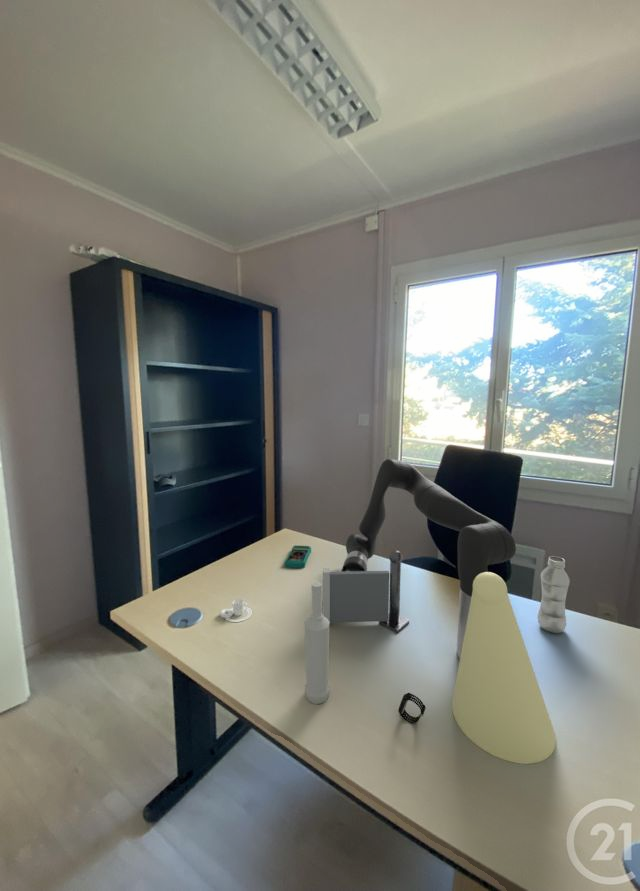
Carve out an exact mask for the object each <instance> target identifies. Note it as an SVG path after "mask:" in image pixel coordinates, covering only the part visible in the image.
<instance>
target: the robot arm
mask: <svg viewBox="0 0 640 891" xmlns="http://www.w3.org/2000/svg"><path fill="white" fill-rule="evenodd" d="M389 488H396V489H400V490H404V491H406V492H408V493H409V494H411V495H412V496H413V502H414V505H415V507H416V508H417V509H418V510H419V511H420V513H422V514H423V515H424V516H425V517H426V518H427V519H428V520H430V521H431V522H434V523H435V524H437V525H440V526H442V527H445V528H449V529H451V530H454V531H457V532H459V533H458V537H457V574H458V578H459V581H460V582H459V598H458V600H459V601H458V617H457V634H456V635H457V643H456V654H457V657H458V660H460V657H461V652H462V646H463V641H464V635H465V630H466V624H467V619H468V614H469V608H470V603H471V597H472V592H473V581H474V579H475V578H476V576H478V575H479V574H481V573H484V572H488V566H490V565H495V564H497V565H498V564H502V563H505V562H507V561H509V560H511V559H512V558H513V557H514V556H515V554H516V551H517V546H516V543H515V542H516V541H515V540H514V537H513V535H512V534H511V533H510V531H509V530H508V529H507V528H506V527H504V525H503V524H501V523H499V522H498V521H496V520H493V519H491V518H489V517H488V516H486V515H484V514H482V513H480V512H478V511H476V510H475V509H473V508H472V507H470V506H468V505H467V504H466V503H464V502H463V501H462V500H460V499H458V498H457V497H455V496H454V495H452V494H451V493H450V492H448V491H447V490H446V489H444V488H443V487H442V486H440V485H438V484H437V483H436V482H434V481H432V480H430V479H428V478H427V477H425V475H423V473H421V472H420V471H419V470H418V469H417V468H416V467H415V466H414V465H412V464H411V463H410V462H407V461H403V460H398V459H393V458H387V459H385V460H383V461H382V463H381V465H380V467H379V469H378V472H377V475H376V479H375V482H374V485H373V489H372V492H371V495H370V501H369V504H368V506H367V509H366V510H365V512H364V513H365V514H364V516H363V517H362V520H361V522H360V524H359V526H358V529H359V532H360V534H358V533H352V534H350V535H349V536H348V538H347V540H346V544H345V549H346V554H347V556H346V557H345V560H344V562H343V566H342V568H341V570H340V572H345V571H368V560H369V559H372V557H373V556H374V554H375V549H376V542H377V538H378V535H379V533H380V530H381V529H382V527H383V524H384V522H385V520H386V506H385V496H386V493H387V490H388V489H389ZM361 534H362V535H361Z"/></svg>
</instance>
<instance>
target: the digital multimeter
mask: <svg viewBox="0 0 640 891" xmlns="http://www.w3.org/2000/svg"><path fill="white" fill-rule="evenodd" d="M311 553H312V547H311V546H309V545H293V546H292V548H291V550H290V552H289V554H288V556H287V558H286V560H284V567H286V568H292V569H299V568H300V569H304V568H305V567H306V565H307V561H308V559H309V556H310V554H311Z"/></svg>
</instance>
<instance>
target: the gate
mask: <svg viewBox="0 0 640 891" xmlns="http://www.w3.org/2000/svg"><path fill="white" fill-rule="evenodd" d="M330 570H331V569H330V568H329V567H328V568H327V567H325V568H322V614H323V616H324V617H325V618H327V619H328V620H329V624H331V623H362V622H370V623H371V622H373V623H374V622H379V621H388V614H389V598H390V570H367V571H345V572H341V571H330Z"/></svg>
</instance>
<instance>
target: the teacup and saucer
mask: <svg viewBox="0 0 640 891" xmlns="http://www.w3.org/2000/svg"><path fill="white" fill-rule="evenodd" d="M244 605H246V606H244ZM248 606H249V605H248V602H244V600H243V599H240V598H238V599H234V600H233V601H232V607H231V608H223V609H221V610H220V611H219V616H220V617H221V618H222V619H225V620H226V621H227V622H230V623H240V622H244V621H247V620H248V619H250V618H251V617H252V615H253V611H252V609H251V608H250V607H248ZM244 612H247V614H246V615H245V617H243V618H240V619H232V617H233V614H234V616H235V617H240V616H242V615H243V614H244Z"/></svg>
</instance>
